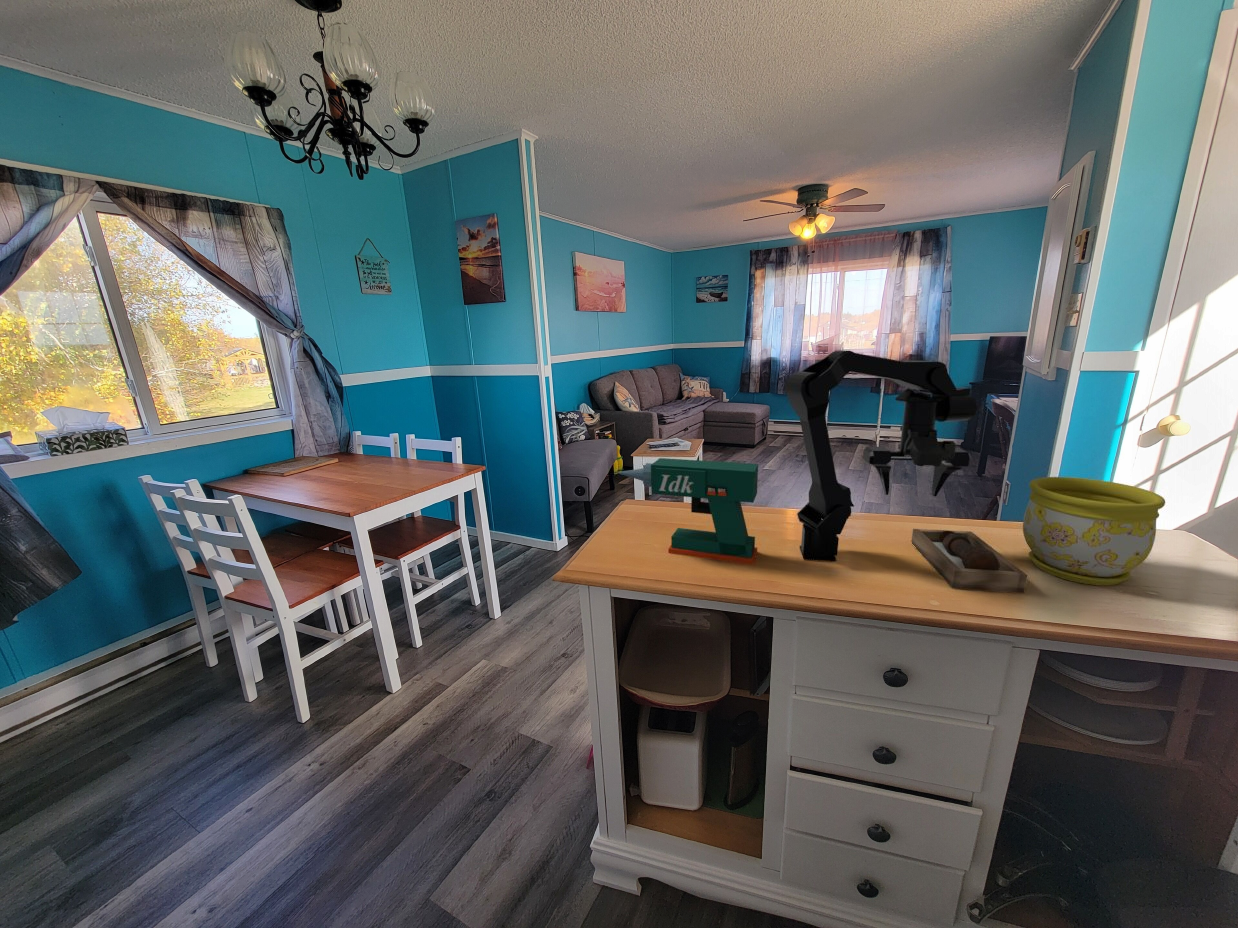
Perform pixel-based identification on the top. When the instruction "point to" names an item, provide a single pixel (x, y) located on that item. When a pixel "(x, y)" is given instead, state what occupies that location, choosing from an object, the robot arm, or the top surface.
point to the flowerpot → (1089, 528)
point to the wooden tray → (955, 572)
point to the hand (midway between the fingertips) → (909, 495)
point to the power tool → (707, 504)
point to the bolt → (968, 552)
